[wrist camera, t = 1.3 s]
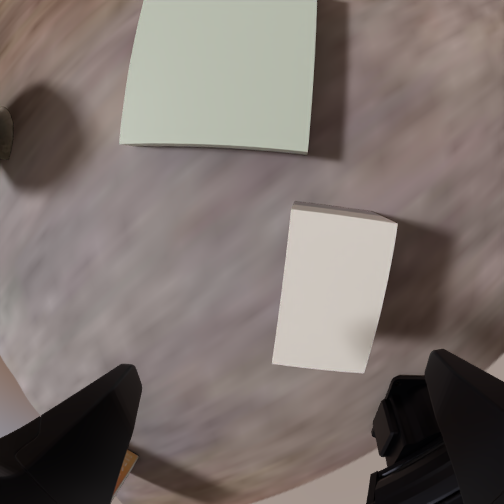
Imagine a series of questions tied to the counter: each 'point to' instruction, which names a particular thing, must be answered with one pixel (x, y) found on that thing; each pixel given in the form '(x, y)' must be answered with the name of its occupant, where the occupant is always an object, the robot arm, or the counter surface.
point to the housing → (332, 287)
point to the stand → (222, 75)
